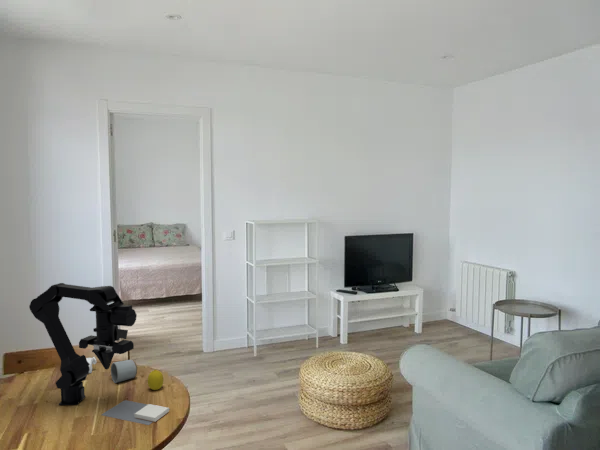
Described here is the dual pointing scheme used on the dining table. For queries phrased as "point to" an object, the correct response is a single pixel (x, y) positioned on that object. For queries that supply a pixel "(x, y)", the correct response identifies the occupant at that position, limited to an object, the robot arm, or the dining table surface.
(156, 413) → the tile
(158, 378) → the lemon
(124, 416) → the mat
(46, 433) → the dining table surface
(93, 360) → the elephant figurine
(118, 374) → the ceramic mug
